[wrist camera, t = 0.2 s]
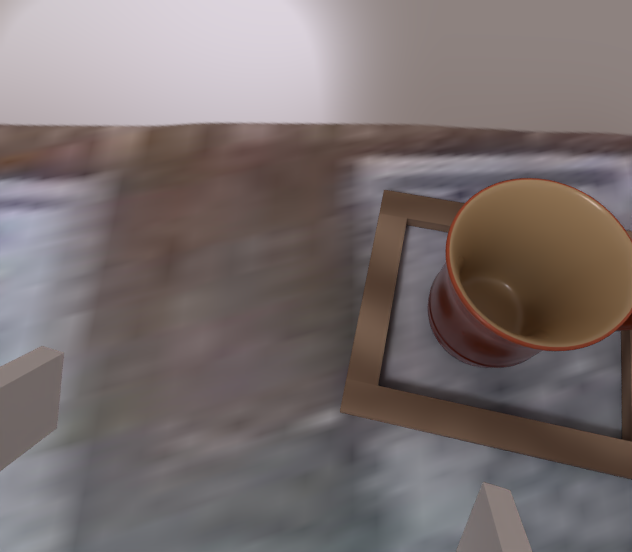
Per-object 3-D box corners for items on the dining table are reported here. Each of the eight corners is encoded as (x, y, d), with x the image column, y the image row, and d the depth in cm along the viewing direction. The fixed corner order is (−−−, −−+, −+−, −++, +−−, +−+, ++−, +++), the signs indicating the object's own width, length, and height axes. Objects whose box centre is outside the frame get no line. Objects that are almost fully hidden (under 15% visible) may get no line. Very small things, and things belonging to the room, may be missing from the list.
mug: (403, 366, 30) (433, 325, 20) (423, 247, 33) (458, 163, 23) (595, 410, 28) (725, 389, 19) (598, 281, 31) (712, 207, 22)
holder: (658, 485, 27) (670, 486, 26) (339, 412, 29) (339, 410, 28) (650, 242, 32) (659, 236, 31) (382, 196, 35) (384, 189, 34)
